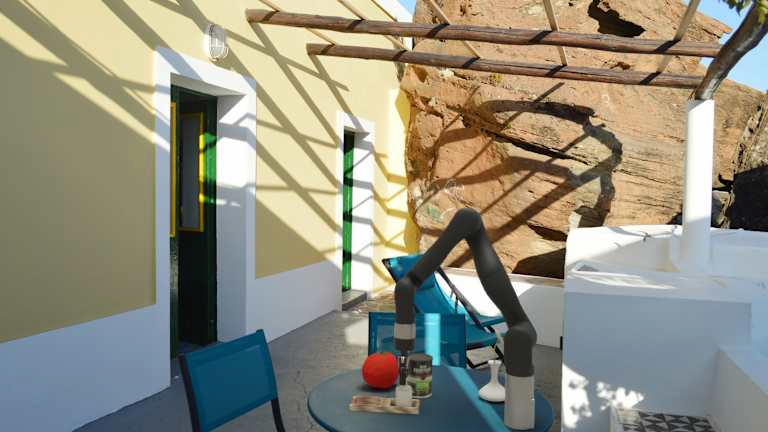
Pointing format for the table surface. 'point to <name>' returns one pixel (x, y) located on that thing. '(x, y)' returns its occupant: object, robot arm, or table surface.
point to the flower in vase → (494, 379)
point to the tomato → (380, 370)
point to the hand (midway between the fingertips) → (403, 380)
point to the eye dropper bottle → (404, 395)
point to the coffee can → (420, 375)
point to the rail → (382, 405)
